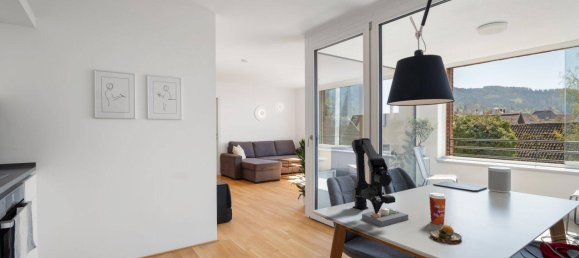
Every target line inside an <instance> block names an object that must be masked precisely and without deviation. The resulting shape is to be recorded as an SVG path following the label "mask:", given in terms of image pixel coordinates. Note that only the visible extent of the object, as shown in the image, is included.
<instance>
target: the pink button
mask: <svg viewBox="0 0 579 258" xmlns="http://www.w3.org/2000/svg"><path fill="white" fill-rule="evenodd" d="M372 212H373V211H372ZM372 217H374V218H381V213H379V212H378V213H377V214H376V213H375V212H373V213H372Z"/></svg>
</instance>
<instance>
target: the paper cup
mask: <svg viewBox="0 0 579 258" xmlns="http://www.w3.org/2000/svg"><path fill="white" fill-rule="evenodd" d="M428 197H429V211H430V212H429V213H430V222H431V224H434V225H438V226H441V225H442V226H444V225H445V216H446V214H445V213H446V201H447V195H446V194H445V193H442V192H441V193H440V192H430V193H429V195H428Z"/></svg>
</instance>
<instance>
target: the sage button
mask: <svg viewBox="0 0 579 258" xmlns="http://www.w3.org/2000/svg"><path fill="white" fill-rule="evenodd" d="M397 211H398V209H397V208H389V213H391V214H397Z"/></svg>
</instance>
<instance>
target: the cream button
mask: <svg viewBox="0 0 579 258" xmlns="http://www.w3.org/2000/svg"><path fill="white" fill-rule="evenodd" d="M389 209H390V208H389ZM389 209H387V208H386V207H383V208H382V207H381V208H380V210H381V215H383V216H389Z"/></svg>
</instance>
